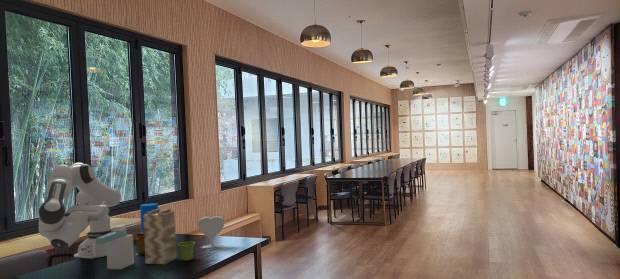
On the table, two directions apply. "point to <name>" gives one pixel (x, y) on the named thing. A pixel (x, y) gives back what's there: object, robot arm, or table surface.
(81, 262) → the table surface
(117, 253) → the white rectangular block
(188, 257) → the plant pot
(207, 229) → the heart sculpture
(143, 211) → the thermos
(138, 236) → the condiment
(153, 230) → the zigzag patterned block
